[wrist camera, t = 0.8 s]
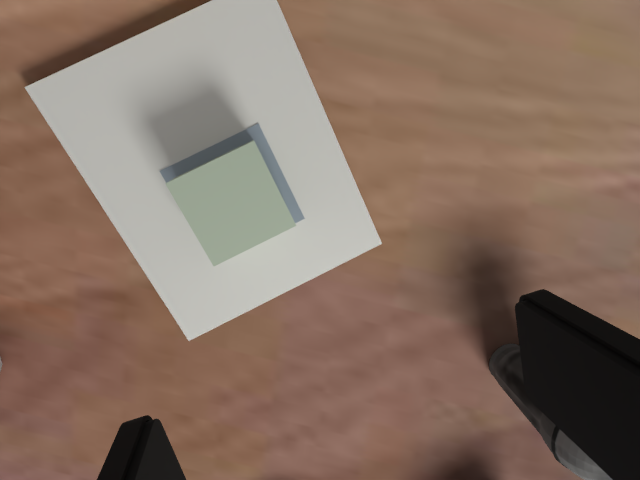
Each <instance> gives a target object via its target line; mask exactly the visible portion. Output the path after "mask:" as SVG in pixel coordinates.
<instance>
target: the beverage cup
mask: <svg viewBox="0 0 640 480" xmlns="http://www.w3.org/2000/svg"><path fill="white" fill-rule="evenodd" d="M489 370H490V372H491V374H492V375H493V376H494V377H495V379H496V380H497V381H498V383H499V385H500V386H501V387H502V388H503V390H504V391H505V392H506V393H507V394H508V396H509V397H510V398H511V399H512V400H513V402H514V403H515V404H516V405H517V406H518V408H519V409H520V410H521V411H522V413H523V414H524V415H525V416H526V417H527V419H528V420H529V421H530V422H531V423H532V425H533V426H534V427H535V428H536V429H537V431H538V432H539V433H540V434H541V435H542V438H543V440H544V441H545V443H546V444H547V446H548V447H549V449H550V450H551V452H552V453H553V455H554V457H555V459H556V460H557V461H558V462H560V463H561V464H562V465H563V466H565V467H566V468H568V469H570V470H571V471H572V472H573V473H575V474H576V475H577V476H579V477H581V478H583V479H585V480H613V479H612V478H610V477H609V476H608V475H607V474H606V473H605V472H604V471H603V470H602V469H601V468H600V467H599V466H598V465H597V464H596V463H595V462H594V461H593V460H592V459H591V458H589V457H588V456H587V455H586V454H585V453H584V452H583V451H582V450H581V449H580V448H579V447H578V446H577V445H576V444H575V443H574V442H573V441H572V440H571V439H570V438H568V437H567V436H566V435H565V434H564V433H563V432H562V431H561V430H560V429H559V428H558V427H557V426H556V425H555V424H554V423H553V422H552V421H551V420H550V419H549V418H547V417H546V416H545V415H544V414H543V413H542V412H541V411H540V410H539V409H538V408H537V407H536V406H535V405H534V404H533V403H532V402H531V401H530V399H529V398H528V396H527V394H526V392H525V388H524V380H523V372H522V363H521V355H520V346H519V345H516V344H506V345H503V346H501V347H500V348H498V349H497V350H496V351H495V352H494V353H493V355H492V357H491V358H490V362H489Z"/></svg>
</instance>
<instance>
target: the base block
mask: <svg viewBox="0 0 640 480" xmlns="http://www.w3.org/2000/svg"><path fill="white" fill-rule="evenodd" d="M165 184H166V186H167V188H168V189H169V191H170V193H171V194H172V196H173V198H174V200H175V201H176V203H177V205H178V206H179V208H180V210H181V211H182V213H183V215H184V217H185V218H186V220H187V222H188V223H189V225H190V227H191V229H192V230H193V232H194V234H195V235H196V237H197V239H198V241H199V242H200V244H201V246H202V247H203V249H204V251H205V253H206V254H207V256H208V258H209V259H210V261H211V263H212V264H213V266H216V265H218V264H220V263H222V262H224V261H226V260H228V259H230V258H232V257H234V256H236V255H238V254H240V253H242V252H244V251H246V250H248V249H250V248H252V247H254V246H256V245H258V244H260V243H262V242H264V241H267V240H269V239H271V238H273V237H275V236H277V235H279V234H281V233H283V232H285V231H287V230H289V229H291V228H293V227H295V226H296V224H295V222H294V220H293V218H292V216H291V214H290V212H289V210H288V208H287V206H286V204H285V202H284V200H283V198H282V196H281V194H280V192H279V190H278V188H277V186H276V184H275V182H274V180H273V178H272V176H271V174H270V172H269V169H268V167H267V165H266V163H265V161H264V159H263V157H262V155H261V153H260V151H259V149H258V147H257V145H256V143H255V141H254V140H252V141H250V142H248V143H246V144H244V145H242V146H239V147H237V148H235V149H233V150H231V151H229V152H227V153H225V154H223V155H221V156H219V157H217V158H215V159H213V160H211V161H208V162H206V163H204V164H202V165H200V166H198V167H196V168H194V169H192V170H190V171H188V172H186V173H184V174H182V175H179V176H177V177H176V178H174V179H172V180H170V181H169V182H167V183H165Z"/></svg>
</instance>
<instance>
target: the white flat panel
mask: <svg viewBox="0 0 640 480" xmlns="http://www.w3.org/2000/svg"><path fill="white" fill-rule="evenodd" d="M25 89H26V90H27V92H28V93H29V95H30V96H31V98H32V100H33V101H34V103H35V104H36V106H37V107H38V109H39V110H40V112H41V113H42V115H43V117H44V118H45V120H46V121H47V123H48V124H49V126H50V127H51V129H52V130H53V132H54V133H55V135H56V137H57V138H58V140H59V141H60V143H61V144H62V146H63V147H64V149H65V150H66V152H67V154H68V155H69V157H70V158H71V160H72V161H73V163H74V164H75V166H76V167H77V169H78V171H79V172H80V174H81V175H82V177H83V178H84V180H85V181H86V183H87V184H88V186H89V187H90V189H91V191H92V192H93V194H94V195H95V197H96V198H97V200H98V201H99V203H100V204H101V206H102V208H103V209H104V211H105V212H106V214H107V215H108V217H109V218H110V220H111V221H112V223H113V225H114V226H115V228H116V229H117V231H118V232H119V234H120V235H121V237H122V238H123V240H124V241H125V243H126V245H127V246H128V248H129V249H130V251H131V252H132V254H133V255H134V257H135V258H136V260H137V262H138V263H139V265H140V266H141V268H142V269H143V271H144V272H145V274H146V275H147V277H148V279H149V280H150V282H151V283H152V285H153V286H154V288H155V289H156V291H157V292H158V294H159V295H160V297H161V299H162V300H163V302H164V303H165V305H166V306H167V308H168V309H169V311H170V312H171V314H172V316H173V317H174V319H175V320H176V322H177V323H178V325H179V326H180V328H181V329H182V331H183V333H184V334H185V336H186V337H187V339H188V340H189V341H190V340H192V339H194V338H196V337H198V336H200V335H202V334H204V333H206V332H208V331H210V330H212V329H214V328H215V327H217V326H219V325H221V324H223V323H225V322H227V321H229V320H231V319H233V318H235V317H237V316H239V315H241V314H243V313H245V312H247V311H249V310H251V309H253V308H255V307H257V306H259V305H261V304H263V303H265V302H267V301H269V300H271V299H273V298H275V297H277V296H279V295H281V294H283V293H285V292H287V291H289V290H291V289H293V288H295V287H297V286H299V285H301V284H303V283H305V282H307V281H309V280H311V279H313V278H315V277H317V276H319V275H321V274H323V273H325V272H327V271H329V270H331V269H333V268H334V267H336V266H338V265H340V264H342V263H344V262H346V261H348V260H350V259H352V258H354V257H356V256H358V255H360V254H362V253H364V252H366V251H368V250H370V249H372V248H374V247H376V246H378V245H380V244H382V243H381V240H380V238H379V236H378V234H377V231H376V229H375V227H374V224H373V222H372V220H371V217H370V215H369V213H368V210H367V208H366V206H365V203H364V201H363V199H362V196H361V194H360V192H359V189H358V187H357V185H356V183H355V180H354V178H353V176H352V173H351V171H350V169H349V166H348V164H347V162H346V159H345V157H344V155H343V152H342V150H341V148H340V145H339V143H338V141H337V139H336V136H335V134H334V132H333V129H332V127H331V125H330V122H329V120H328V118H327V115H326V113H325V111H324V108H323V106H322V104H321V101H320V99H319V97H318V95H317V92H316V90H315V88H314V85H313V83H312V81H311V78H310V76H309V74H308V71H307V69H306V67H305V64H304V62H303V60H302V57H301V55H300V53H299V50H298V48H297V46H296V44H295V41H294V39H293V37H292V34H291V32H290V30H289V27H288V25H287V23H286V20H285V18H284V16H283V13H282V11H281V9H280V6H279V4H278V2H277V0H212V1H209V2H207V3H205V4H203V5H201V6H199V7H197V8H194V9H192V10H190V11H188V12H186V13H184V14H181V15H179V16H177V17H175V18H173V19H171V20H169V21H166V22H164V23H162V24H160V25H158V26H156V27H153V28H151V29H149V30H147V31H145V32H143V33H140V34H138V35H136V36H134V37H132V38H130V39H128V40H125V41H123V42H121V43H119V44H117V45H115V46H112V47H110V48H108V49H106V50H104V51H102V52H100V53H97V54H95V55H93V56H91V57H89V58H87V59H84V60H82V61H80V62H78V63H76V64H74V65H71V66H69V67H67V68H65V69H63V70H61V71H59V72H56V73H54V74H52V75H50V76H48V77H46V78H43V79H41V80H39V81H37V82H35V83H33V84H31V85H28V86H26V87H25ZM252 140H254V141H255V143H256V145H257V147H258V149H259V151H260V153H261V155H262V157H263V159H264V161H265V163H266V165H267V167H268V169H269V172H270V174H271V176H272V178H273V180H274V182H275V184H276V186H277V188H278V190H279V192H280V194H281V196H282V198H283V200H284V202H285V204H286V206H287V208H288V210H289V212H290V214H291V216H292V218H293V220H294V222H295V224H296V226H295V227H293V228H291V229H289V230H287V231H285V232H283V233H281V234H279V235H277V236H275V237H273V238H271V239H269V240H267V241H264V242H262V243H260V244H258V245H256V246H254V247H252V248H250V249H248V250H246V251H244V252H242V253H240V254H238V255H236V256H234V257H232V258H230V259H228V260H226V261H224V262H222V263H220V264H218V265H216V266H213V264H212V263H211V261H210V259H209V258H208V256H207V254H206V253H205V251H204V249H203V247H202V246H201V244H200V242H199V241H198V239H197V237H196V235H195V234H194V232H193V230H192V229H191V227H190V225H189V223H188V222H187V220H186V218H185V217H184V215H183V213H182V211H181V210H180V208H179V206H178V205H177V203H176V201H175V200H174V198H173V196H172V194H171V193H170V191H169V189H168V188H167V186H166V184H165V183H167V182H169V181H170V180H172V179H174V178H176V177H177V176H179V175H182V174H184V173H186V172H188V171H190V170H192V169H194V168H196V167H198V166H200V165H202V164H204V163H206V162H208V161H211V160H213V159H215V158H217V157H219V156H221V155H223V154H225V153H227V152H229V151H231V150H233V149H235V148H237V147H239V146H242V145H244V144H246V143H248V142H250V141H252Z"/></svg>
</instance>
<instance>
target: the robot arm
mask: <svg viewBox="0 0 640 480" xmlns="http://www.w3.org/2000/svg"><path fill="white" fill-rule="evenodd" d="M515 312H516V321H517V329H518V338H519V346H520V355H521V363H522V372H523V380H524V388H525V392H526V394H527V396H528V398H529V399H530V401H531V402H532V403H533V404H534V405H535V406H536V407H537V408H538V409H539V410H540V411H541V412H542V413H543V414H544V415H545V416H546V417H547V418H549V419H550V420H551V421H552V422H553V423H554V424H555V425H556V426H557V427H558V428H559V429H560V430H561V431H562V432H563V433H564V434H565V435H566V436H567V437H568V438H570V439H571V440H572V441H573V442H574V443H575V444H576V445H577V446H578V447H579V448H580V449H581V450H582V451H583V452H584V453H585V454H586V455H587V456H588V457H589V458H591V459H592V460H593V461H594V462H595V463H596V464H597V465H598V466H599V467H600V468H601V469H602V470H603V471H604V472H605V473H606V474H607V475H608V476H609V477H610V478H612V479H613V480H640V339H638V338H636V337H634V336H632V335H630V334H628V333H626V332H625V331H623V330H621V329H619V328H617V327H615V326H613V325H611V324H609V323H608V322H606V321H604V320H602V319H600V318H598V317H596V316H594V315H592V314H590V313H589V312H587V311H585V310H583V309H581V308H579V307H577V306H575V305H573V304H571V303H570V302H568V301H566V300H564V299H562V298H560V297H558V296H556V295H554V294H553V293H551V292H549V291H547V290H544V289H542V290H538V291H535V292H532V293H529V294H526V295H522V296H521V297H520V300H519V303H517V304H516V306H515ZM97 480H186V478H185V476H184V474H183V471H182V469H181V467H180V464H179V462H178V460H177V458H176V455H175V453H174V451H173V449H172V446H171V444H170V442H169V439H168V437H167V435H166V433H165V430H164V428H163V426H162V424H161V422H160V420H159V419H154V420H152V418H151V417H150V416H148V415H146V416H143V417H140V418H137V419H134V420H130V421H127V422H124V423H123V424H122V425H121V426H120V428H119V431H118V433H117V435H116V437H115V440H114V442H113V444H112V447H111V449H110V451H109V453H108V456H107V458H106V460H105V463H104V465H103V467H102V469H101V472H100V474H99V476H98V478H97Z"/></svg>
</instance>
